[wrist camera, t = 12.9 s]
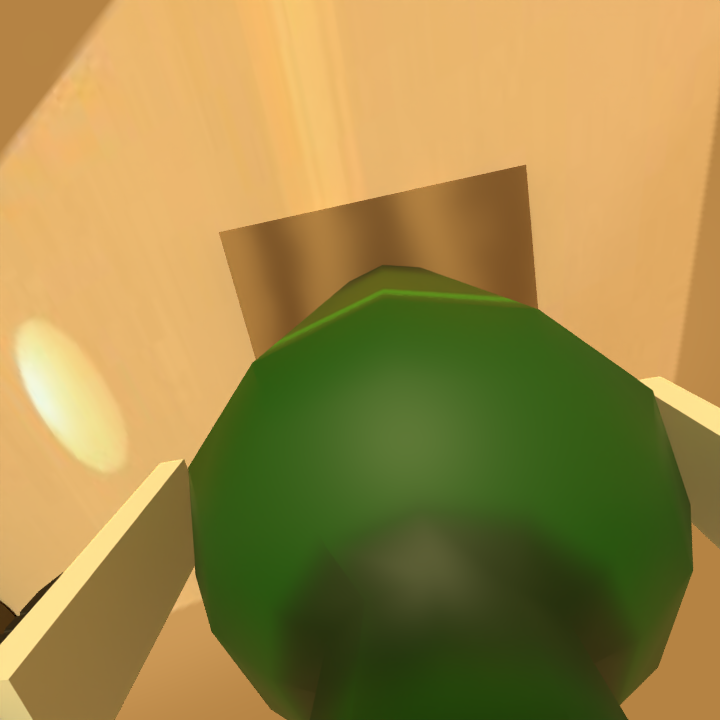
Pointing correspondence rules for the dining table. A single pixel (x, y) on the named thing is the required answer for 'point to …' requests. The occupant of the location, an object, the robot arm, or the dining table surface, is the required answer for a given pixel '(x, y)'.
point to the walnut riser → (384, 248)
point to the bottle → (439, 514)
